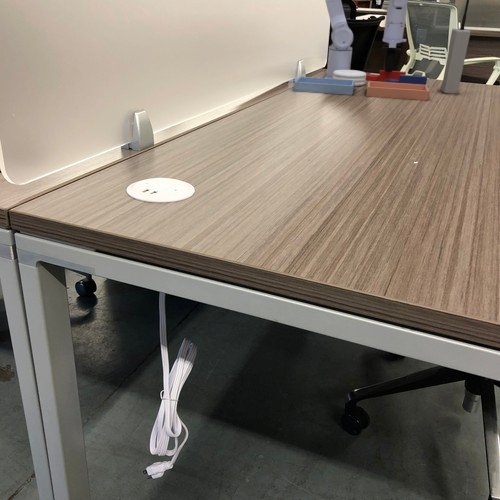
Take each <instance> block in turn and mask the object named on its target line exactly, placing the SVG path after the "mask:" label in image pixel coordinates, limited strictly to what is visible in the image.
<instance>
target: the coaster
mask: <svg viewBox="0 0 500 500" xmlns="http://www.w3.org/2000/svg"><path fill="white" fill-rule="evenodd" d="M366 75H367V72H365V71H361V70H355V69H350V70H336V71H334V72H333V79H344V80H355V85H354V87H363V86H364V85H365V84H366V81H367V80H366Z"/></svg>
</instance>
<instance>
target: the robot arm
mask: <svg viewBox="0 0 500 500" xmlns="http://www.w3.org/2000/svg"><path fill="white" fill-rule="evenodd" d="M324 1H325V5H326V9H327V13H328V16H329V21H330V26H331V34H330V37H331V42H332V43H331V44H330V45H328V57H327V66H326V67H327V68H326V75H325V76H324V77H323V78H329V79H333V72H334V71H336V70H351V64H352V56H353V47H352V46H351V45H352V44H353V42H354V33H353V31H352V29H351V28H350V27H349V25H348V21H347V18H346V15H345V11H344V7H343V2H342V0H324ZM408 2H409V0H388V6H387V10H386V16H385V17H386V18H385V24H384V30H383V31H384V32H383V38H382V42H384V43H387V44H382V47H381V48H382V52H383V55H384V70H385V72H392V71H394V68H395V64H396V61H397V59H398V56H399V54H401V51H402V48H401V46H402V45H401V43H407V39H406V38H404V32H405V25H406V19H407V11H408Z"/></svg>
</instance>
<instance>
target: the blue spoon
mask: <svg viewBox="0 0 500 500" xmlns="http://www.w3.org/2000/svg"><path fill="white" fill-rule="evenodd" d="M384 82H390V83H405V84H420V85H427V82H428V76H427V75H414V74H406V75H400V77H399V80H397V79H385V81H384Z"/></svg>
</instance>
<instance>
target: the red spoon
mask: <svg viewBox="0 0 500 500" xmlns="http://www.w3.org/2000/svg"><path fill="white" fill-rule="evenodd" d="M400 75H407V72H406V71H401V70H400V71H399V70H393V71H392V72H385V69H384V70H383V69H380V70H379V74H375V73H373V74H372V73H369V74H367V73H366V77H365V78H366V80H365V81H374V82H385V79H397V80H399V77H400Z"/></svg>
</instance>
